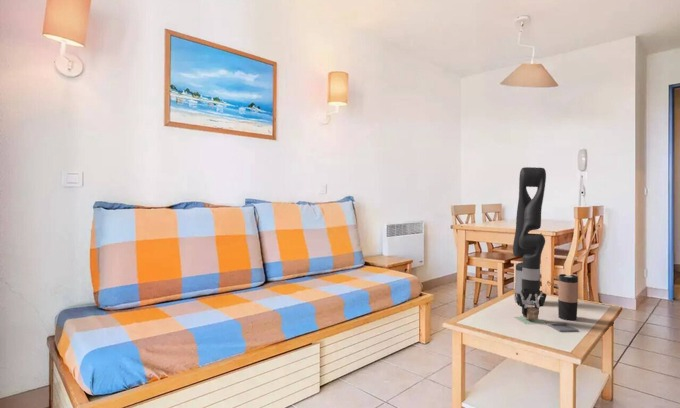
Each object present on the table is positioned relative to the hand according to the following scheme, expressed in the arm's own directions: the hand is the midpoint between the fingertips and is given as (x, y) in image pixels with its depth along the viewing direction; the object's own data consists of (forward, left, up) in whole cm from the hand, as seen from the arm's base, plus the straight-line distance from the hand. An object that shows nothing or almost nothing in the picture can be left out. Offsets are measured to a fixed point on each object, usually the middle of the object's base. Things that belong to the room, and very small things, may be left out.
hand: (530, 315), depth 172 cm
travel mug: (-2, +19, -3) cm, 19 cm away
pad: (0, 0, -2) cm, 3 cm away
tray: (+11, +8, -2) cm, 14 cm away
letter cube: (0, 0, -1) cm, 1 cm away
